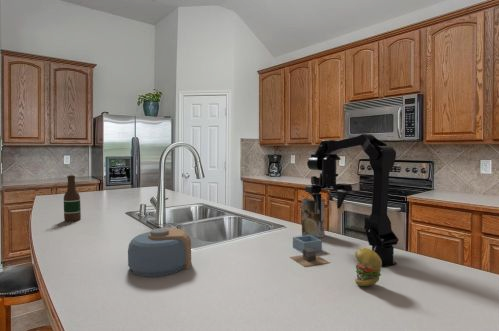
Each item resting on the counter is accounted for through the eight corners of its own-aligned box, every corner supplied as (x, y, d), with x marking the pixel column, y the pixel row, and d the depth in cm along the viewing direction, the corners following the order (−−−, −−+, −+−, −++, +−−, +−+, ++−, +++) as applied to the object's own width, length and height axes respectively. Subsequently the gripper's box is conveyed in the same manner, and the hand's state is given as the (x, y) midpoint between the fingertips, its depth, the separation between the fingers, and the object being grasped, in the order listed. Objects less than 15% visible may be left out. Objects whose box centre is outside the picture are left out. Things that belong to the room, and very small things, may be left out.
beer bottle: (64, 219, 173) (63, 175, 171) (81, 218, 176) (79, 174, 174) (63, 222, 165) (61, 176, 164) (80, 221, 169) (79, 175, 167)
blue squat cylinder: (201, 266, 106) (201, 230, 105) (142, 283, 92) (141, 242, 92) (173, 252, 120) (173, 220, 119) (119, 265, 107) (118, 229, 106)
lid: (329, 264, 109) (330, 252, 109) (305, 269, 105) (305, 256, 105) (313, 255, 118) (313, 244, 118) (289, 259, 114) (289, 247, 114)
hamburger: (359, 278, 96) (360, 239, 95) (384, 285, 92) (386, 243, 91) (349, 287, 90) (350, 245, 89) (376, 294, 86) (377, 250, 85)
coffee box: (325, 234, 144) (325, 199, 143) (321, 238, 138) (322, 201, 137) (305, 232, 148) (305, 197, 147) (301, 235, 142) (301, 199, 141)
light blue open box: (321, 250, 121) (321, 240, 121) (303, 253, 118) (304, 242, 118) (309, 244, 129) (309, 235, 129) (292, 247, 126) (292, 237, 125)
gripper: (337, 169, 140) (337, 204, 141) (299, 170, 135) (299, 207, 135) (353, 171, 130) (352, 209, 130) (312, 172, 124) (312, 212, 125)
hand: (328, 209), depth 131 cm, fingers open, 9 cm apart
